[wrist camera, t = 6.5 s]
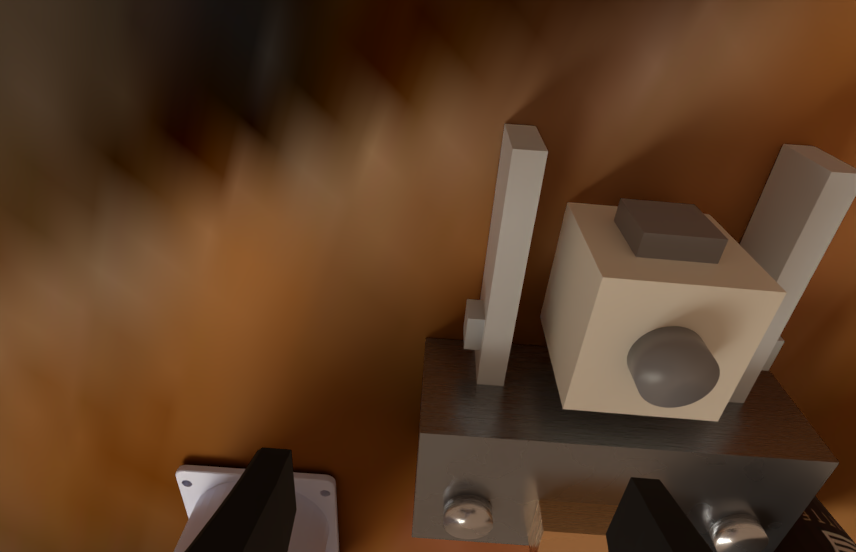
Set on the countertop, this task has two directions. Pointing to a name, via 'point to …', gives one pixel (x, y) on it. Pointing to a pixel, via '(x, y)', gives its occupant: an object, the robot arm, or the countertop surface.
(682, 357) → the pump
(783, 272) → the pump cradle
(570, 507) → the block
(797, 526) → the coffee mug
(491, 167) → the countertop surface
